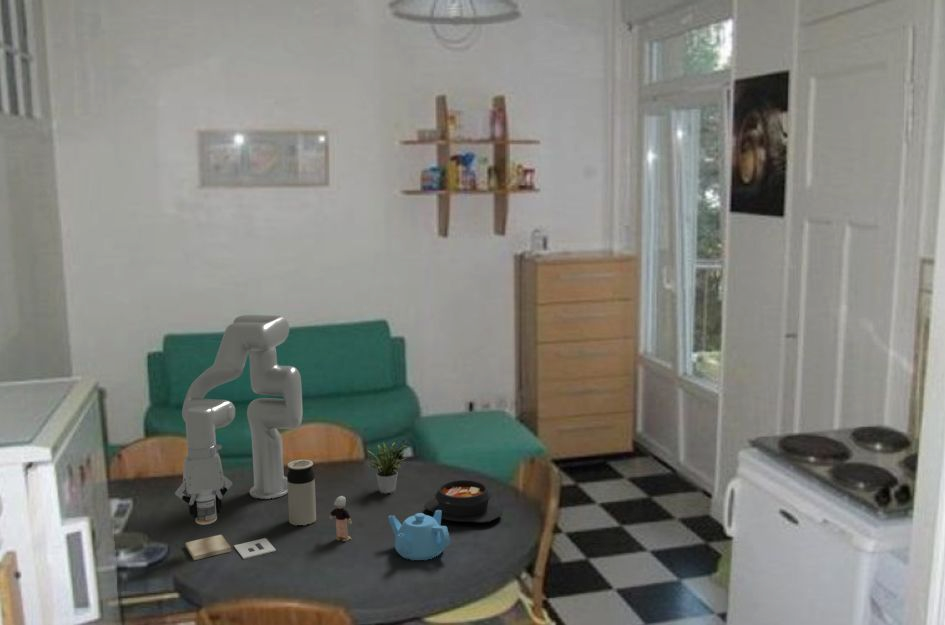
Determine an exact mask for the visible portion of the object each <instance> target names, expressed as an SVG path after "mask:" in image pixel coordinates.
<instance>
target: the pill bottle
mask: <svg viewBox="0 0 945 625" xmlns="http://www.w3.org/2000/svg"><path fill="white" fill-rule="evenodd" d="M194 503H195V505H196V516H197V518H195V523H196V524H198V525H210V524H212V523H215V522H216V521H217V519H218V513H217V510H216V494H215V492H214V491H211V489H206V490H202V492H201V493H200V494H196V497H195V500H194Z"/></svg>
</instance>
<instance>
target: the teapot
mask: <svg viewBox="0 0 945 625" xmlns="http://www.w3.org/2000/svg"><path fill="white" fill-rule="evenodd" d="M441 515H442V511H441V510H437V511H435V514H434V513H433V515H432V516H430V515H427V514H424V513H423V512H417V513H415V514H414V515H411V516H408V517H407V518H406V519H405V520H404V521H403V522H402V524H401V522H400V521H399V519H397V518H396V515H389V516H388V517H387V518H388V521H389V524H390V527H391V530H392V532H393V534H394V537H395V539H394V540H395V541H394V548H395V551H396V552H397V553H398V554H399V555H400V557H402V558H404V559H406V558H407V559H406V560H408V559H410V560H409V561H414V560H424V561H428V559H430V560H433V559H435V558H437V557H438V556H439V555H441V553H443V551H444V550H445V549H446V548H447V547H448V546H449V545H450V544H452V541H451V538H450V537H451V536H450V534H449V531H448V527H447V526H446V525H441V523H442V518H441ZM436 556H437V557H436ZM434 557H435V558H434ZM432 558H433V559H432Z"/></svg>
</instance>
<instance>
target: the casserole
mask: <svg viewBox="0 0 945 625" xmlns="http://www.w3.org/2000/svg"><path fill="white" fill-rule="evenodd" d="M490 498H492V493H491V492H490V491H489V488H488V486H487V485H485V484H484V483H482V482H480V481H475V480H469V479H468V480H467V479H464V480H463V479H460V480H452V481H448V482H447V481H446V482H445V483H442V484H441V485H440V486H439V487H438V489H437V492H436V493H435V495H434V497H433V498H432V499H430V500H428V501H427V502H425V504H424V508H425V509H426V510H428V511H430V512H432V513H433V515H434V514H435V511H437V510H441V511H442V515H441V520H442V519H443V520H446V521H451V522H462V523H463V522H464V523H465V522H466V523H467V522H468V523H478V524H481V523H483V524H485V523H489V522H491V521H495V520H496V519H498V518H500V517H501V516H502V515H503V510H502V508H500V507H499V506H496V505H494V504H493V503H491V502H489V500H490Z"/></svg>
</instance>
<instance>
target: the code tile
mask: <svg viewBox="0 0 945 625" xmlns="http://www.w3.org/2000/svg"><path fill="white" fill-rule="evenodd" d="M233 547H234V548H235V550H236V551H237V552H238V554H239V555H240V556H241V558H242V559H243V560H244V559H245V560H246V559H250V558H253V557H258V556H261V555H267V554H270V553H274V552H276V551H277V550H276V548H275V547H274V546H273V545H272V543H271V542H270V541H269V540H268V538H266V537H264V538H260V539H256V540H252V541H248V542H247V541H246V542H243V543H239V544H238V543H237V544H235V545H233Z"/></svg>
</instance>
